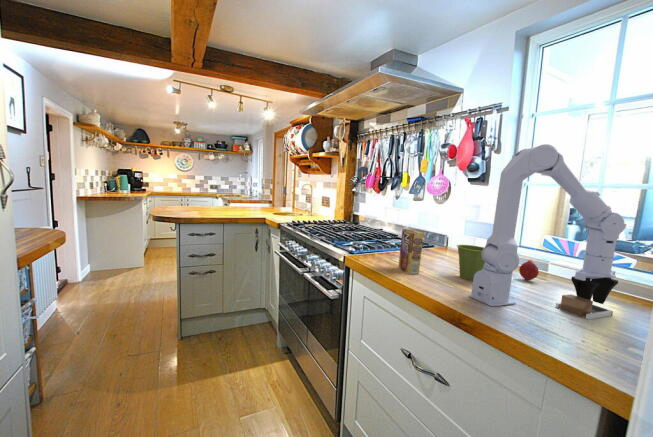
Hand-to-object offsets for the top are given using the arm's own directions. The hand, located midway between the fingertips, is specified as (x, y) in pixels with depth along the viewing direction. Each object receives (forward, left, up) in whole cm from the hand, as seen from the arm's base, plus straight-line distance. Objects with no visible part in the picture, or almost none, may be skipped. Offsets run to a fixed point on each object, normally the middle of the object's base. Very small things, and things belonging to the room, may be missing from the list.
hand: (590, 303), depth 81 cm
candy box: (-29, +42, -2) cm, 51 cm away
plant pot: (-11, +30, -2) cm, 32 cm away
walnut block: (-7, 0, -2) cm, 7 cm away
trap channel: (-3, 0, -2) cm, 4 cm away
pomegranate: (+10, +24, -2) cm, 26 cm away
